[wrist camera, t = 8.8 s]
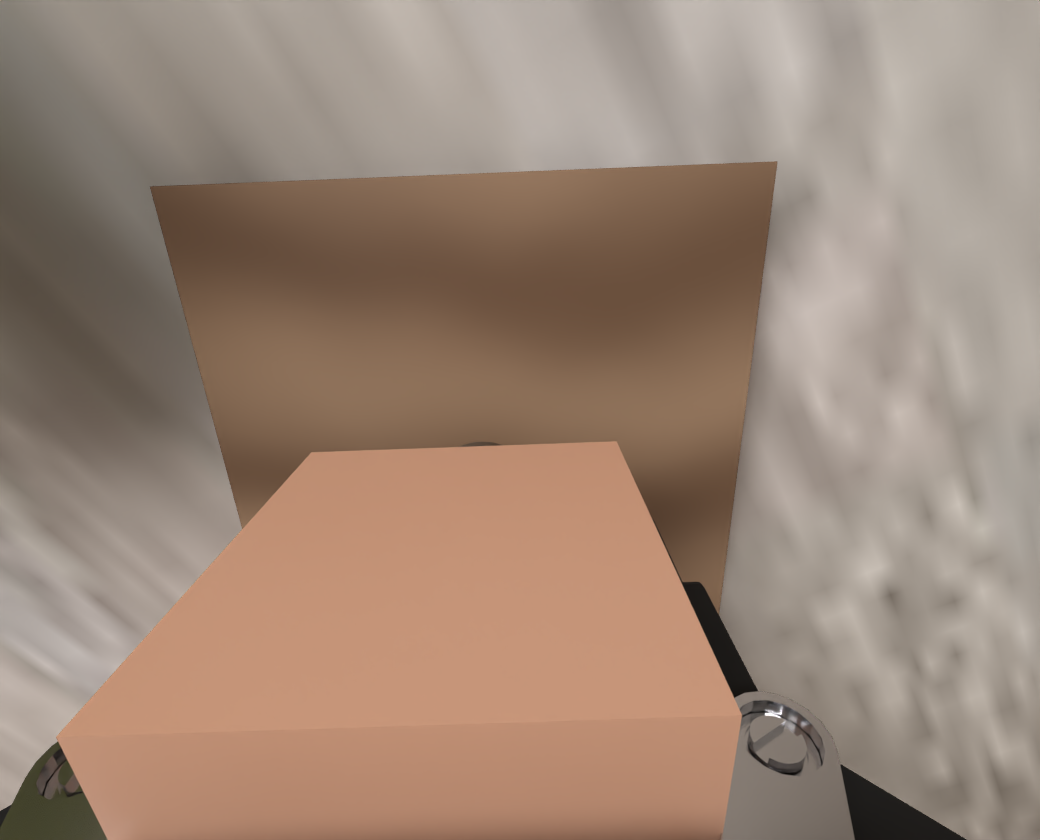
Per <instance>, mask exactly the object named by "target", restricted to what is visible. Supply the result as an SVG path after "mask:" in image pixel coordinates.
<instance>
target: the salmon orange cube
mask: <svg viewBox="0 0 1040 840" xmlns="http://www.w3.org/2000/svg"><path fill="white" fill-rule="evenodd" d="M741 719H742V714H741V712H740V710H739V707H738V705H737V703H736V701H735V699H734V697H733V694H732V692H731V690H730V688H729V686H728V683H727V681H726V679H725V677H724V675H723V673H722V670H721V668H720V666H719V664H718V662H717V659H716V657H715V655H714V653H713V651H712V649H711V646H710V644H709V642H708V640H707V638H706V636H705V633H704V631H703V629H702V627H701V625H700V622H699V620H698V618H697V616H696V614H695V612H694V609H693V607H692V605H691V603H690V601H689V598H688V596H687V594H686V592H685V590H684V588H683V585H682V583H681V581H680V579H679V577H678V574H677V572H676V570H675V568H674V566H673V564H672V561H671V559H670V557H669V555H668V553H667V550H666V548H665V546H664V544H663V542H662V540H661V537H660V535H659V533H658V531H657V529H656V526H655V524H654V522H653V520H652V518H651V516H650V513H649V511H648V509H647V507H646V505H645V502H644V500H643V498H642V496H641V494H640V492H639V489H638V487H637V485H636V483H635V481H634V478H633V476H632V474H631V472H630V470H629V468H628V465H627V463H626V461H625V459H624V457H623V454H622V452H621V450H620V448H619V446H618V444H617V441H612V442H584V443H556V444H528V445H500V446H473V447H445V448H417V449H389V450H361V451H334V452H311V453H310V454H309V456H308V457H307V458H306V459H305V460H304V461H303V462H302V463H301V464H300V466H299V467H298V468H297V469H296V470H295V471H294V472H293V473H292V474H291V476H290V477H289V478H288V479H287V480H286V481H285V482H284V483H283V485H282V486H281V487H280V488H279V489H278V490H277V491H276V492H275V493H274V495H273V496H272V497H271V498H270V499H269V500H268V501H267V502H266V503H265V505H264V506H263V507H262V508H261V509H260V510H259V511H258V512H257V514H256V515H255V516H254V517H253V518H252V519H251V520H250V521H249V522H248V524H247V525H246V526H245V527H244V528H243V529H242V530H241V531H240V532H239V534H238V535H237V536H236V537H235V538H234V539H233V540H232V541H231V543H230V544H229V545H228V546H227V547H226V548H225V549H224V550H223V551H222V553H221V554H220V555H219V556H218V557H217V558H216V559H215V560H214V561H213V563H212V564H211V565H210V566H209V567H208V568H207V569H206V570H205V572H204V573H203V574H202V575H201V576H200V577H199V578H198V579H197V580H196V582H195V583H194V584H193V585H192V586H191V587H190V588H189V589H188V590H187V592H186V593H185V594H184V595H183V596H182V597H181V598H180V599H179V601H178V602H177V603H176V604H175V605H174V606H173V607H172V608H171V609H170V611H169V612H168V613H167V614H166V615H165V616H164V617H163V618H162V619H161V621H160V622H159V623H158V624H157V625H156V626H155V627H154V628H153V630H152V631H151V632H150V633H149V634H148V635H147V636H146V637H145V638H144V640H143V641H142V642H141V643H140V644H139V645H138V646H137V647H136V648H135V650H134V651H133V652H132V653H131V654H130V655H129V656H128V657H127V659H126V660H125V661H124V662H123V663H122V664H121V665H120V666H119V667H118V669H117V670H116V671H115V672H114V673H113V674H112V675H111V676H110V677H109V679H108V680H107V681H106V682H105V683H104V684H103V685H102V686H101V688H100V689H99V690H98V691H97V692H96V693H95V694H94V695H93V696H92V698H91V699H90V700H89V701H88V702H87V703H86V704H85V705H84V706H83V708H82V709H81V710H80V711H79V712H78V713H77V714H76V715H75V717H74V718H73V719H72V720H71V721H70V722H69V723H68V724H67V725H66V727H65V728H64V729H63V730H62V731H61V732H60V733H59V734H58V735H57V737H56V738H57V740H58V742H59V744H60V746H61V748H62V750H63V752H64V754H65V756H66V758H67V760H68V762H69V764H70V766H71V768H72V770H73V772H74V774H75V776H76V778H77V780H78V782H79V784H80V786H81V788H82V790H83V792H84V794H85V796H86V798H87V800H88V802H89V804H90V806H91V808H92V810H93V812H94V814H95V816H96V818H97V819H98V821H99V823H100V825H101V827H102V829H103V831H104V833H105V835H106V837H107V839H108V840H720V833H723V829H724V823H725V817H726V811H727V805H728V799H729V793H730V786H731V780H732V774H733V768H734V762H735V756H736V749H737V743H738V737H739V731H740V725H741Z"/></svg>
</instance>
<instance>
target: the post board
mask: <svg viewBox="0 0 1040 840" xmlns="http://www.w3.org/2000/svg"><path fill="white" fill-rule="evenodd" d="M776 169H777V162H753V163H728V164H703V165H678V166H653V167H628V168H603V169H578V170H553V171H528V172H503V173H478V174H453V175H427V176H402V177H377V178H352V179H327V180H302V181H277V182H252V183H227V184H202V185H177V186H152V187H150V189H151V192H152V196H153V200H154V203H155V207H156V211H157V215H158V218H159V222H160V226H161V229H162V233H163V237H164V240H165V244H166V248H167V252H168V255H169V259H170V263H171V266H172V270H173V274H174V277H175V281H176V285H177V289H178V292H179V296H180V300H181V303H182V307H183V311H184V315H185V318H186V322H187V326H188V329H189V333H190V337H191V340H192V344H193V348H194V352H195V355H196V359H197V363H198V366H199V370H200V374H201V377H202V381H203V385H204V389H205V392H206V396H207V400H208V403H209V407H210V411H211V415H212V418H213V422H214V426H215V429H216V433H217V437H218V440H219V444H220V448H221V452H222V455H223V459H224V463H225V466H226V470H227V474H228V477H229V481H230V485H231V489H232V492H233V496H234V500H235V503H236V507H237V511H238V515H239V518H240V522H241V526H242V529H243V528H244V527H245V526H246V525H247V524H248V522H249V521H250V520H251V519H252V518H253V517H254V516H255V515H256V514H257V512H258V511H259V510H260V509H261V508H262V507H263V506H264V505H265V503H266V502H267V501H268V500H269V499H270V498H271V497H272V496H273V495H274V493H275V492H276V491H277V490H278V489H279V488H280V487H281V486H282V485H283V483H284V482H285V481H286V480H287V479H288V478H289V477H290V476H291V474H292V473H293V472H294V471H295V470H296V469H297V468H298V467H299V466H300V464H301V463H302V462H303V461H304V460H305V459H306V458H307V457H308V456H309V454H310V453H311V452H334V451H361V450H389V449H417V448H445V447H473V446H500V445H528V444H556V443H584V442H612V441H617V444H618V446H619V448H620V450H621V452H622V454H623V457H624V459H625V461H626V463H627V465H628V468H629V470H630V472H631V474H632V476H633V478H634V481H635V483H636V485H637V487H638V489H639V492H640V494H641V496H642V498H643V500H644V502H645V505H646V507H647V509H648V511H649V513H650V516H651V518H652V519H653V520H654V521H655V524H656V526H657V528H658V530H659V532H660V534H661V537H662V539H663V541H664V543H665V545H666V547H667V550H668V552H669V554H670V556H671V558H672V560H673V563H674V565H675V567H676V569H677V571H678V573H679V576H680V578H681V580H682V582H700V583H701V584H702V585H703V586H704V588H705V589H706V591H707V593H708V595H709V597H710V599H711V601H712V603H713V605H714V607H715V609H716V611H717V613H718V615H719V609H720V602H721V594H722V586H723V579H724V571H725V563H726V555H727V548H728V540H729V532H730V524H731V517H732V509H733V501H734V493H735V486H736V478H737V470H738V463H739V455H740V447H741V439H742V432H743V424H744V416H745V408H746V401H747V393H748V385H749V377H750V370H751V362H752V354H753V347H754V339H755V331H756V323H757V316H758V308H759V300H760V292H761V285H762V277H763V269H764V261H765V254H766V246H767V238H768V231H769V223H770V215H771V207H772V200H773V192H774V184H775V176H776Z"/></svg>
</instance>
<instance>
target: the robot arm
mask: <svg viewBox="0 0 1040 840" xmlns="http://www.w3.org/2000/svg"><path fill="white" fill-rule="evenodd" d="M652 520H653V519H652ZM653 522H654V524H655V521H654V520H653ZM655 526H656V524H655ZM656 529H657V531H658V533H659V535H660V537H661V534H660V532H659V530H658V528H657V526H656ZM661 540H662V542H663V544H664V546H665V548H666V550H667V547H666V545H665V543H664V541H663V539H662V537H661ZM667 553H668V555H669V557H670V559H671V561H672V564H673V566H674V568H675V570H676V572H677V574H678V577H679V579H680V581H681V583H682V585H683V588H684V590H685V592H686V594H687V596H688V598H689V601H690V603H691V605H692V607H693V609H694V612H695V614H696V616H697V618H698V620H699V622H700V625H701V627H702V629H703V631H704V633H705V636H706V638H707V640H708V642H709V644H710V646H711V649H712V651H713V653H714V655H715V657H716V659H717V662H718V664H719V666H720V668H721V670H722V673H723V675H724V677H725V679H726V681H727V683H728V686H729V688H730V690H731V692H732V694H733V697H734V699H735V701H736V703H737V705H738V707H739V710H740V712H741V714H742V719H741V725H740V731H739V737H738V743H737V749H736V756H735V762H734V768H733V774H732V780H731V786H730V793H729V799H728V805H727V811H726V817H725V823H724V829H723V833H720V840H966V839H965V838H963V837H961V836H960V835H958V834H956V833H955V832H953V831H951V830H950V829H948V828H946V827H945V826H943V825H941V824H940V823H938V822H936V821H934V820H933V819H931V818H929V817H928V816H926V815H924V814H923V813H921V812H919V811H918V810H916V809H914V808H913V807H911V806H909V805H908V804H906V803H904V802H903V801H901V800H899V799H898V798H896V797H894V796H893V795H891V794H889V793H888V792H886V791H884V790H883V789H881V788H879V787H878V786H876V785H874V784H873V783H871V782H869V781H868V780H866V779H864V778H863V777H861V776H859V775H858V774H856V773H854V772H853V771H851V770H849V769H848V768H846V767H844V766H843V765H841V764H840V761H839V756H838V751H837V749H836V746H835V743H834V741H833V738H832V736H831V734H830V733H829V732H828V730H827V729H826V728H825V726H824V725H823V723H822V722H821V721H820V720H819V719H818V718H817V717H815V716H814V715H813V714H812V713H811V712H810V711H809V710H808V709H806V708H804V707H803V706H801V705H799V704H798V703H796V702H795V701H793V700H791V699H788V698H786V697H783V696H780V695H777V694H775V693H768V692H761V691H758V690H757V688H756V686H755V685H754V683H753V681H752V679H751V677H750V675H749V673H748V671H747V669H746V667H745V665H744V663H743V661H742V659H741V657H740V655H739V653H738V652H737V650H736V648H735V646H734V644H733V642H732V640H731V638H730V636H729V634H728V632H727V630H726V628H725V626H724V624H723V622H722V621H721V619H720V617H719V615H718V613H717V611H716V609H715V607H714V605H713V603H712V601H711V599H710V597H709V595H708V593H707V591H706V589H705V588H704V586H703V585H702V584H701V583H700V582H682V580H681V578H680V576H679V573H678V571H677V569H676V567H675V565H674V563H673V560H672V558H671V556H670V554H669V552H668V550H667ZM0 840H108V839H107V837H106V835H105V833H104V831H103V829H102V827H101V825H100V823H99V821H98V819H97V818H96V816H95V814H94V812H93V810H92V808H91V806H90V804H89V802H88V800H87V798H86V796H85V794H84V792H83V790H82V788H81V786H80V784H79V782H78V780H77V778H76V776H75V774H74V772H73V770H72V768H71V766H70V764H69V762H68V760H67V758H66V756H65V754H64V752H63V750H62V748H61V746H60V744H59V742H57V743H55V744H54V745H53V746H51V747H50V748H49V749H48V750H47V751H46V752H45V753H44V754H43V755H42V756H41V757H40V758H39V759H38V760H37V761H36V763H35V764H34V766H33V767H32V769H31V770H30V772H29V773H28V775H27V776H26V778H25V780H24V782H23V784H22V786H21V788H20V789H19V791H18V793H17V795H16V797H15V799H14V801H13V803H12V805H10V806H8V807H7V808H5V809H3V810H1V811H0Z"/></svg>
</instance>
